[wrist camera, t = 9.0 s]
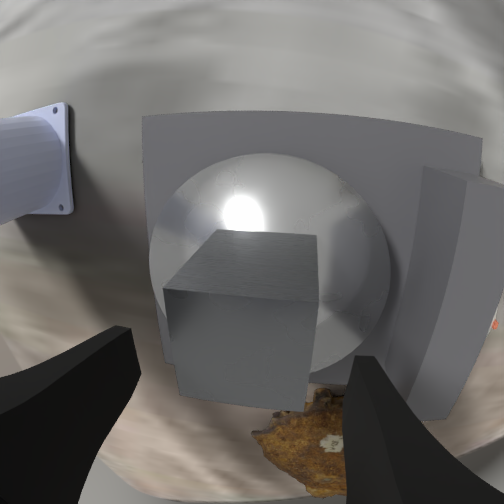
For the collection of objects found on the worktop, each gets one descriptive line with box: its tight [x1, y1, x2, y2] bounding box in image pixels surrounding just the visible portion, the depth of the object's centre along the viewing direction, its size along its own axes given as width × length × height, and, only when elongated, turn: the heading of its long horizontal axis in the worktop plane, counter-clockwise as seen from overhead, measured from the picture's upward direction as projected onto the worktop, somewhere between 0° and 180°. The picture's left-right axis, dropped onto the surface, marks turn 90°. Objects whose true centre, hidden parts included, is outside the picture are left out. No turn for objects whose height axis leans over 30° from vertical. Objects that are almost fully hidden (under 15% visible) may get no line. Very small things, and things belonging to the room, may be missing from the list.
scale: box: [142, 111, 504, 421], centre depth 15 cm, size 18×16×7 cm
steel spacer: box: [163, 229, 319, 412], centre depth 12 cm, size 4×4×6 cm
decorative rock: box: [251, 388, 347, 498], centre depth 23 cm, size 11×4×15 cm
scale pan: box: [149, 153, 391, 373], centre depth 16 cm, size 12×12×1 cm
